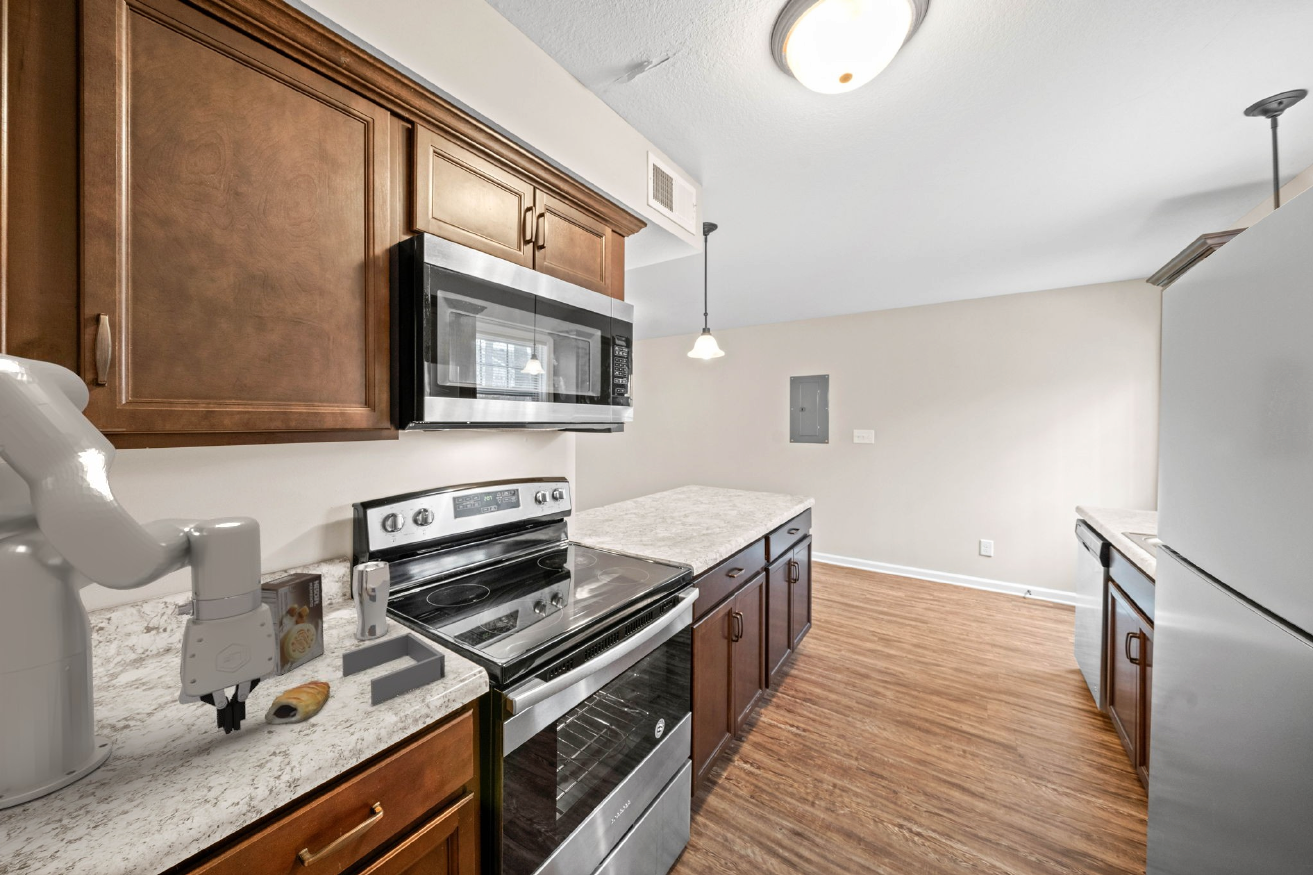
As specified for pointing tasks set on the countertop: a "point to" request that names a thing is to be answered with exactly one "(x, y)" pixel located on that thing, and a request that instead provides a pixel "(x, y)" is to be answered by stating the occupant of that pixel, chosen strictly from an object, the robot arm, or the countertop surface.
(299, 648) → the coffee box
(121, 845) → the countertop surface
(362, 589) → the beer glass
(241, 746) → the countertop surface
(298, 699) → the pastry
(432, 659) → the box
